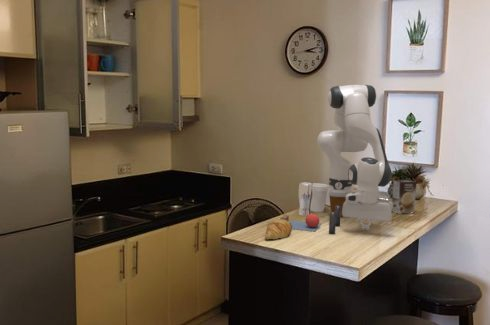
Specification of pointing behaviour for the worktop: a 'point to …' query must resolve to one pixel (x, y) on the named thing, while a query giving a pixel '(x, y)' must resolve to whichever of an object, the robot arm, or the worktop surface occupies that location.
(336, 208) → the post
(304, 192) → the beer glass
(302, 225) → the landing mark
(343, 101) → the robot arm
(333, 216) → the post
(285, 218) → the wall
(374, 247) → the worktop surface
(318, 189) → the foam cup
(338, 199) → the disposable coffee cup
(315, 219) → the ball
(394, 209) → the coffee box
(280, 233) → the croissant
